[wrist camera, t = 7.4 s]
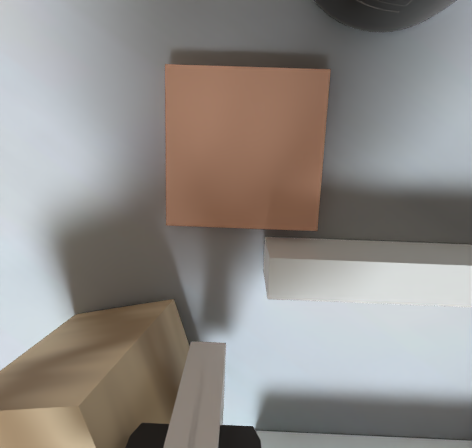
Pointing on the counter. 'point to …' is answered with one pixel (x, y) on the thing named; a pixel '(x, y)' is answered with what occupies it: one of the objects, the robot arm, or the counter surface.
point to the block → (95, 379)
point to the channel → (365, 300)
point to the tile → (244, 146)
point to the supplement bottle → (382, 13)
